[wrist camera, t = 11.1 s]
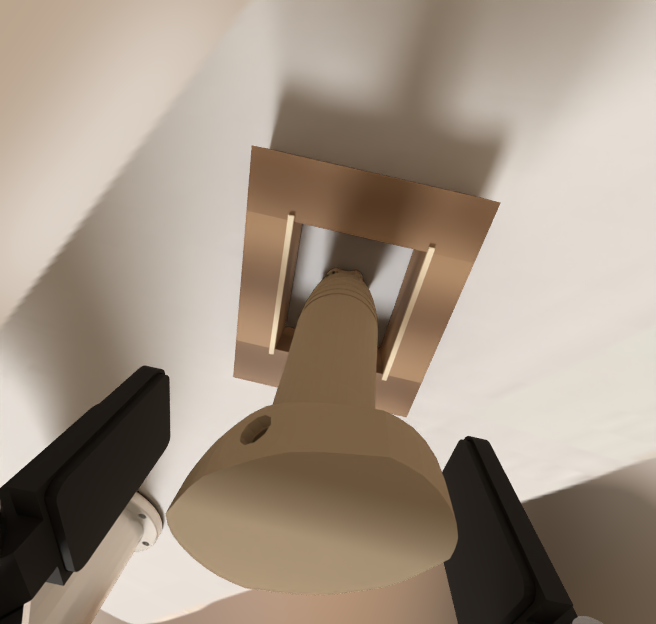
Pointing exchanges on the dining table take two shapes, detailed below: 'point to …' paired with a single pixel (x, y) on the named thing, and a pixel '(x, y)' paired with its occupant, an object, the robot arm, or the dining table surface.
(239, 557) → the handle
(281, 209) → the wooden frame
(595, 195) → the dining table surface
